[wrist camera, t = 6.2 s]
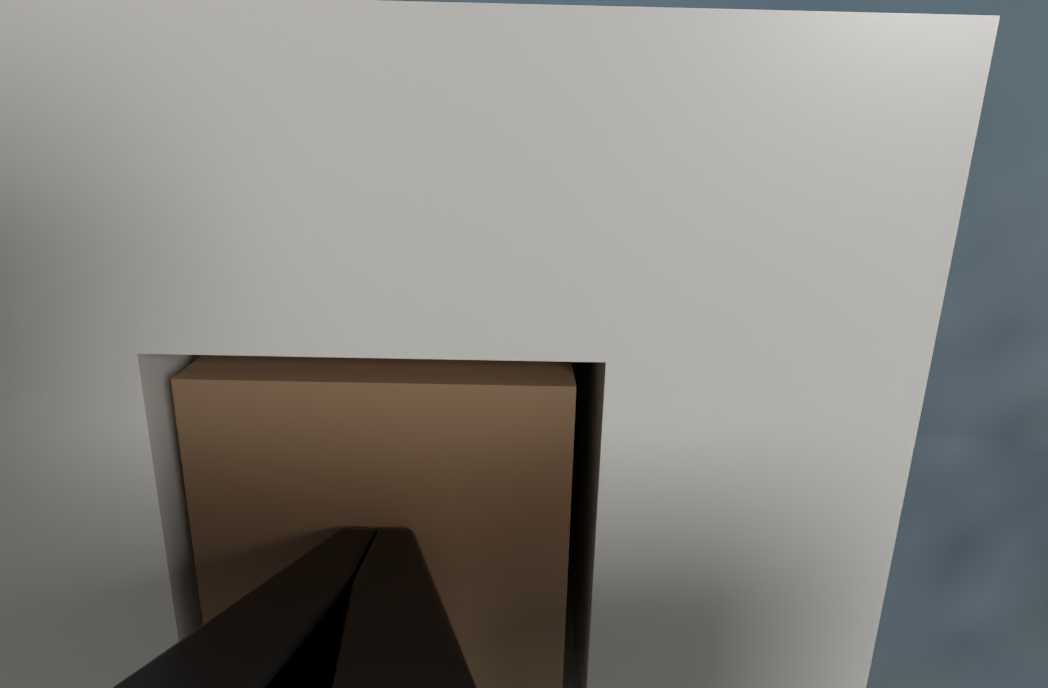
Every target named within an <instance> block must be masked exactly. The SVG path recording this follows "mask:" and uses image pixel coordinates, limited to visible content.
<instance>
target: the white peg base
mask: <svg viewBox="0 0 1048 688" xmlns="http://www.w3.org/2000/svg"><path fill="white" fill-rule="evenodd" d="M999 18H1000V16H991V15H950V14H909V13H868V12H827V11H787V10H746V9H705V8H664V7H623V6H582V5H542V4H501V3H460V2H419V1H378V0H0V688H113V687H114V686H115V685H117V684H118V683H120V682H121V681H122V680H124V679H125V678H127V677H128V676H130V675H131V674H133V673H134V672H135V671H137V670H138V669H140V668H141V667H143V666H144V665H146V664H147V663H148V662H150V661H151V660H153V659H154V658H156V657H157V656H159V655H160V654H161V653H163V652H164V651H166V650H167V649H169V648H170V647H172V646H173V645H174V644H176V643H177V642H179V641H180V640H182V639H183V638H184V637H186V636H187V635H189V634H190V633H192V632H193V631H195V630H196V629H197V628H199V627H200V626H202V625H203V621H202V613H201V606H200V598H199V590H198V583H197V575H196V568H195V560H194V552H193V545H192V537H191V529H190V522H189V514H188V507H187V499H186V491H185V484H184V476H183V469H182V461H181V453H180V446H179V438H178V430H177V423H176V415H175V408H174V400H173V392H172V385H171V379H172V378H173V377H174V376H176V375H177V374H178V373H180V372H181V371H182V370H183V369H185V368H186V367H187V366H189V365H190V364H191V363H192V362H194V361H195V360H196V359H198V358H199V357H200V356H202V355H231V356H285V357H339V358H392V359H446V360H500V361H554V362H571V363H572V368H573V373H574V377H575V382H576V406H575V428H574V450H573V471H572V493H571V515H570V536H569V558H568V580H567V601H566V623H565V645H564V666H563V688H866V685H867V680H868V675H869V670H870V665H871V660H872V655H873V650H874V645H875V640H876V635H877V630H878V625H879V620H880V615H881V610H882V605H883V600H884V595H885V590H886V585H887V580H888V575H889V570H890V565H891V560H892V555H893V550H894V545H895V540H896V535H897V530H898V525H899V520H900V515H901V510H902V505H903V500H904V495H905V490H906V485H907V480H908V475H909V470H910V465H911V460H912V455H913V450H914V445H915V440H916V435H917V430H918V424H919V419H920V414H921V409H922V404H923V399H924V394H925V389H926V384H927V379H928V374H929V369H930V364H931V359H932V354H933V349H934V344H935V339H936V334H937V329H938V324H939V319H940V314H941V309H942V304H943V299H944V294H945V289H946V284H947V279H948V274H949V269H950V264H951V259H952V254H953V249H954V244H955V239H956V234H957V229H958V224H959V219H960V214H961V209H962V204H963V199H964V194H965V189H966V184H967V179H968V174H969V169H970V164H971V159H972V154H973V149H974V144H975V139H976V134H977V129H978V124H979V119H980V114H981V109H982V104H983V99H984V93H985V88H986V83H987V78H988V73H989V68H990V63H991V58H992V53H993V48H994V43H995V38H996V33H997V28H998V23H999Z"/></svg>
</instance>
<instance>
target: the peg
mask: <svg viewBox="0 0 1048 688" xmlns="http://www.w3.org/2000/svg"><path fill="white" fill-rule="evenodd" d="M171 385H172V392H173V400H174V408H175V415H176V423H177V430H178V438H179V446H180V453H181V461H182V469H183V476H184V484H185V491H186V499H187V507H188V514H189V522H190V529H191V537H192V545H193V552H194V560H195V568H196V575H197V583H198V590H199V598H200V606H201V613H202V621H203V624H205V623H206V622H208V621H209V620H210V619H212V618H213V617H215V616H216V615H218V614H219V613H220V612H222V611H223V610H225V609H226V608H228V607H229V606H231V605H232V604H233V603H235V602H236V601H238V600H239V599H241V598H242V597H244V596H245V595H246V594H248V593H249V592H251V591H252V590H254V589H255V588H256V587H258V586H259V585H261V584H262V583H264V582H265V581H267V580H268V579H269V578H271V577H272V576H274V575H275V574H277V573H278V572H280V571H281V570H282V569H284V568H285V567H287V566H288V565H290V564H291V563H293V562H294V561H295V560H297V559H298V558H300V557H301V556H303V555H304V554H305V553H307V552H308V551H310V550H311V549H313V548H314V547H316V546H317V545H318V544H320V543H321V542H323V541H324V540H326V539H327V538H329V537H330V536H331V535H333V534H334V533H336V532H337V531H339V530H341V529H343V528H371V529H374V530H375V531H376V532H378V531H379V530H380V529H411V530H412V531H413V532H414V534H415V536H416V538H417V541H418V543H419V546H420V548H421V551H422V553H423V556H424V558H425V561H426V563H427V566H428V568H429V571H430V573H431V576H432V578H433V581H434V583H435V585H436V588H437V590H438V593H439V595H440V598H441V600H442V603H443V605H444V608H445V610H446V613H447V615H448V618H449V620H450V623H451V625H452V628H453V630H454V633H455V635H456V637H457V640H458V642H459V645H460V647H461V650H462V652H463V655H464V657H465V660H466V662H467V665H468V667H469V670H470V672H471V675H472V677H473V680H474V682H475V684H476V687H477V688H563V666H564V645H565V623H566V601H567V580H568V558H569V536H570V515H571V493H572V471H573V450H574V428H575V406H576V382H575V377H574V373H573V368H572V363H571V362H554V361H500V360H446V359H392V358H339V357H285V356H231V355H202V356H200V357H199V358H198V359H196V360H195V361H194V362H192V363H191V364H190V365H189V366H187V367H186V368H185V369H183V370H182V371H181V372H180V373H178V374H177V375H176V376H174V377H173V378H172V379H171Z"/></svg>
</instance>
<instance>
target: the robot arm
mask: <svg viewBox="0 0 1048 688" xmlns="http://www.w3.org/2000/svg"><path fill="white" fill-rule="evenodd" d="M113 688H477V687H476V684H475V682H474V680H473V677H472V675H471V672H470V670H469V667H468V665H467V662H466V660H465V657H464V655H463V652H462V650H461V647H460V645H459V642H458V640H457V637H456V635H455V633H454V630H453V628H452V625H451V623H450V620H449V618H448V615H447V613H446V610H445V608H444V605H443V603H442V600H441V598H440V595H439V593H438V590H437V588H436V585H435V583H434V581H433V578H432V576H431V573H430V571H429V568H428V566H427V563H426V561H425V558H424V556H423V553H422V551H421V548H420V546H419V543H418V541H417V538H416V536H415V534H414V532H413V531H412V530H411V529H380V530H379V531H378V532H376V531H375V530H374V529H371V528H343V529H341V530H339V531H337V532H336V533H334V534H333V535H331V536H330V537H329V538H327V539H326V540H324V541H323V542H321V543H320V544H318V545H317V546H316V547H314V548H313V549H311V550H310V551H308V552H307V553H305V554H304V555H303V556H301V557H300V558H298V559H297V560H295V561H294V562H293V563H291V564H290V565H288V566H287V567H285V568H284V569H282V570H281V571H280V572H278V573H277V574H275V575H274V576H272V577H271V578H269V579H268V580H267V581H265V582H264V583H262V584H261V585H259V586H258V587H256V588H255V589H254V590H252V591H251V592H249V593H248V594H246V595H245V596H244V597H242V598H241V599H239V600H238V601H236V602H235V603H233V604H232V605H231V606H229V607H228V608H226V609H225V610H223V611H222V612H220V613H219V614H218V615H216V616H215V617H213V618H212V619H210V620H209V621H208V622H206V623H205V624H203V625H202V626H200V627H199V628H197V629H196V630H195V631H193V632H192V633H190V634H189V635H187V636H186V637H184V638H183V639H182V640H180V641H179V642H177V643H176V644H174V645H173V646H172V647H170V648H169V649H167V650H166V651H164V652H163V653H161V654H160V655H159V656H157V657H156V658H154V659H153V660H151V661H150V662H148V663H147V664H146V665H144V666H143V667H141V668H140V669H138V670H137V671H135V672H134V673H133V674H131V675H130V676H128V677H127V678H125V679H124V680H122V681H121V682H120V683H118V684H117V685H115V686H114V687H113Z"/></svg>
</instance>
